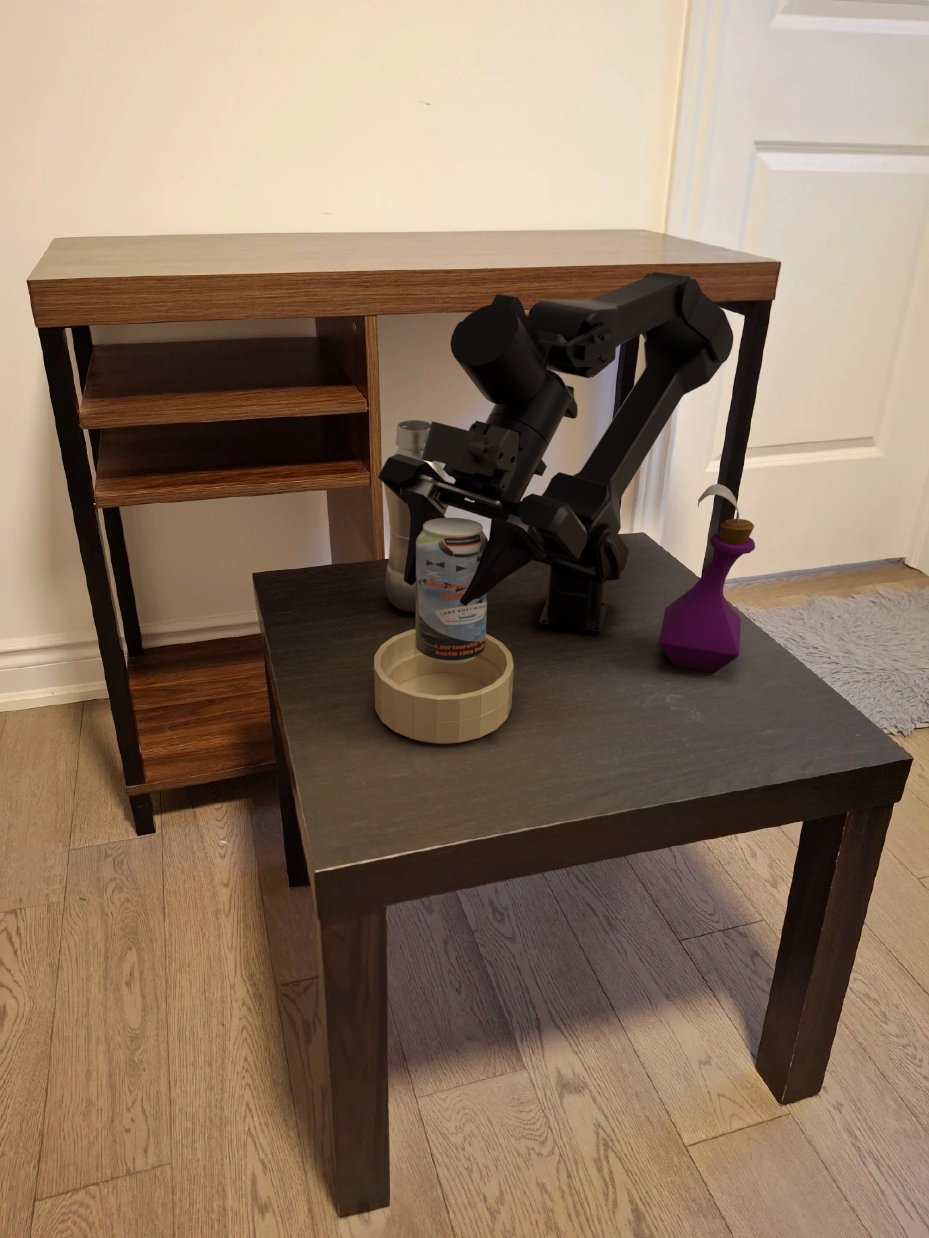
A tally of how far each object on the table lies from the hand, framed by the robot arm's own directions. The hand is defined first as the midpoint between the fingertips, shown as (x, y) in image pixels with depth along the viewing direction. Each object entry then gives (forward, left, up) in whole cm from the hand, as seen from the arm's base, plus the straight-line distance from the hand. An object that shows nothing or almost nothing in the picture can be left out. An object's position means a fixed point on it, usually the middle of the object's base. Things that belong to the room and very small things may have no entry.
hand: (434, 593), depth 78 cm
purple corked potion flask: (-16, +23, -12) cm, 30 cm away
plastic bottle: (-19, -7, -12) cm, 24 cm away
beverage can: (-1, +1, -6) cm, 7 cm away
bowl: (-1, +1, -12) cm, 12 cm away
